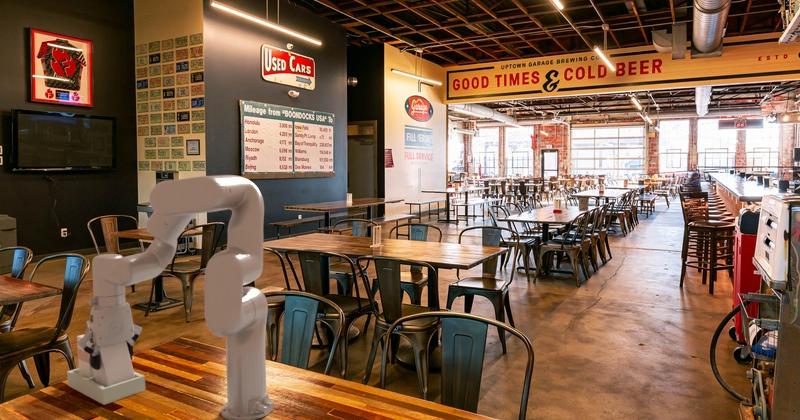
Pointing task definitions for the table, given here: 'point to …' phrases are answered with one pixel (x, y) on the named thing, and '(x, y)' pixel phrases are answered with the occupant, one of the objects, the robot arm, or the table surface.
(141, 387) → the crate
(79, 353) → the oat carton
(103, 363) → the milk carton
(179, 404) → the table surface
